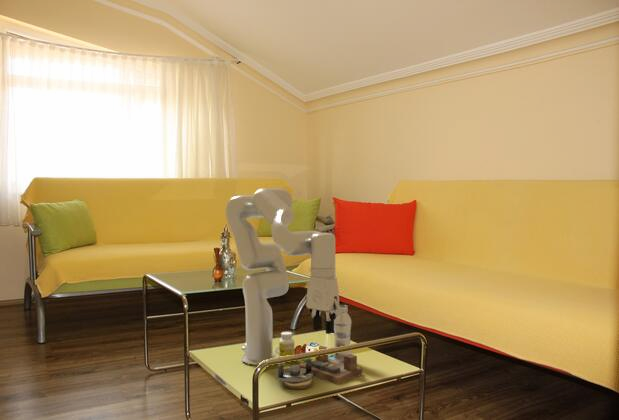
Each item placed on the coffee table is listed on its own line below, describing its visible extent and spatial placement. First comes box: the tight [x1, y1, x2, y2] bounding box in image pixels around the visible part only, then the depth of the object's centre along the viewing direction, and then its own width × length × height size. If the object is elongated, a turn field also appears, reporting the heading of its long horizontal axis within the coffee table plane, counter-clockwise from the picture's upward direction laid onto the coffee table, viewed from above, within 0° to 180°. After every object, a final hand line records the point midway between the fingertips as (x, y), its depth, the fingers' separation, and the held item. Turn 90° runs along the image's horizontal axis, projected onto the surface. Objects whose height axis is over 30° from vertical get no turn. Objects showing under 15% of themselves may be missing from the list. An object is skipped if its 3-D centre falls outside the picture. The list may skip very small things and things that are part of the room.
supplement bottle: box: [278, 331, 295, 357], centre depth 191 cm, size 5×5×10 cm
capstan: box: [276, 358, 314, 390], centre depth 168 cm, size 12×12×6 cm
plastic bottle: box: [332, 304, 353, 363], centre depth 188 cm, size 6×7×20 cm
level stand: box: [298, 345, 363, 385], centre depth 178 cm, size 18×12×6 cm, turn 45°
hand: (323, 330), depth 165 cm, fingers open, 4 cm apart
